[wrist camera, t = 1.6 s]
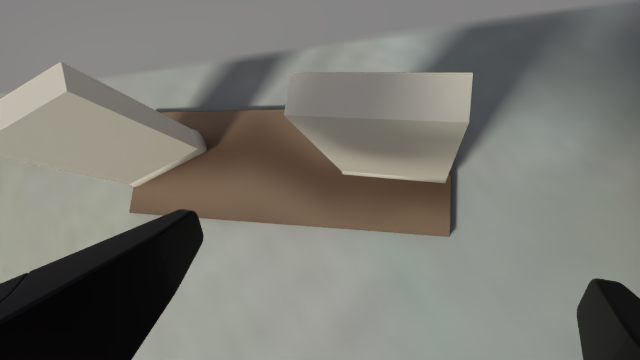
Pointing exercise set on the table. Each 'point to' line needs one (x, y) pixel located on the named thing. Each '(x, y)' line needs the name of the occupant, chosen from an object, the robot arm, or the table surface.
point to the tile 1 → (91, 129)
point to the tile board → (285, 181)
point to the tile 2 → (383, 120)
